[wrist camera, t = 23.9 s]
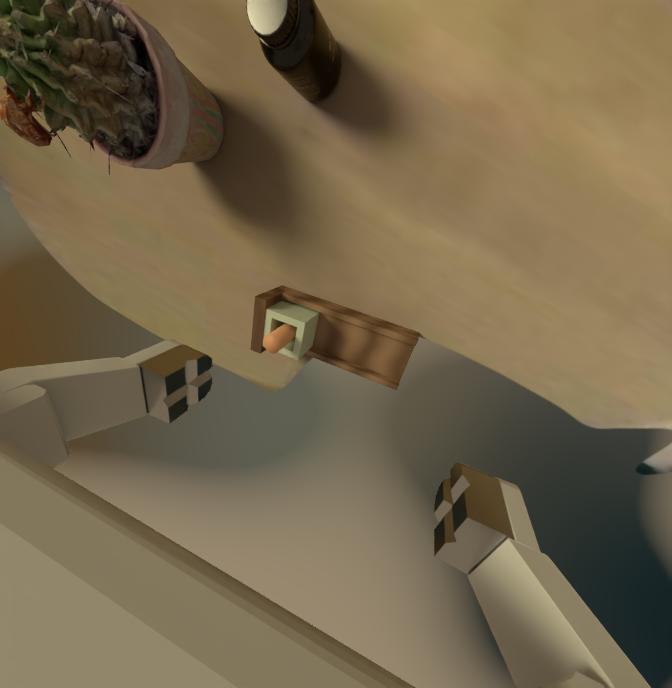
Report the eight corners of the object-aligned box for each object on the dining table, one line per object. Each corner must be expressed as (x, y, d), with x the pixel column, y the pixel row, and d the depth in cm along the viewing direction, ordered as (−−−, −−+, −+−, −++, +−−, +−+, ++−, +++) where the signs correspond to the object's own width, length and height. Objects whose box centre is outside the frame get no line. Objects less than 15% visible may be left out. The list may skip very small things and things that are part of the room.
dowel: (309, 318, 47) (281, 338, 39) (306, 333, 49) (278, 355, 40) (294, 313, 48) (264, 331, 39) (292, 327, 49) (262, 348, 41)
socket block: (319, 312, 46) (305, 323, 41) (312, 346, 49) (298, 360, 44) (284, 299, 47) (266, 308, 42) (279, 333, 51) (262, 345, 45)
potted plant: (186, -5, 36) (-180, -344, 15) (267, 135, 40) (68, 29, 18) (130, 102, 45) (-153, -11, 23) (201, 210, 48) (13, 198, 27)
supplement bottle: (353, 56, 33) (315, -21, 23) (322, 115, 36) (278, 71, 26) (312, 18, 33) (255, -77, 22) (285, 81, 36) (226, 23, 26)
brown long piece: (419, 332, 44) (415, 354, 37) (398, 379, 49) (392, 407, 41) (282, 285, 49) (255, 296, 42) (275, 332, 54) (250, 349, 46)
